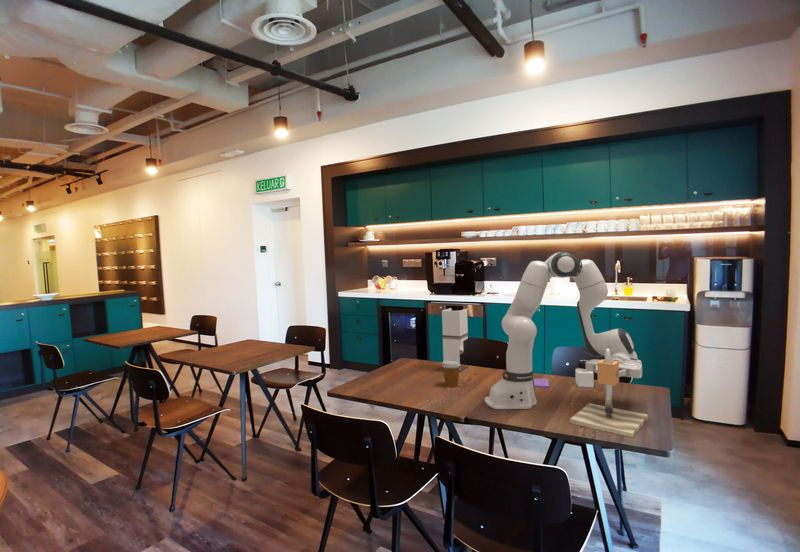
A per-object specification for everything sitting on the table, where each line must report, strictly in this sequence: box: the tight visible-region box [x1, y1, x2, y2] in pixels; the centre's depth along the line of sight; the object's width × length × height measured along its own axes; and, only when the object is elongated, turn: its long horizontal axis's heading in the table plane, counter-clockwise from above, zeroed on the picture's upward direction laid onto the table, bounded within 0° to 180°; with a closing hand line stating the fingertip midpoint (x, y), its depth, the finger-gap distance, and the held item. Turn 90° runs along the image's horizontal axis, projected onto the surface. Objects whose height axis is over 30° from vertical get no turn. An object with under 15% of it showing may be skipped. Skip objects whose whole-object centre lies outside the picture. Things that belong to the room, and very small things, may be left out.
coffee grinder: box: [441, 307, 470, 374], centre depth 244 cm, size 11×11×35 cm
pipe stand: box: [569, 403, 649, 438], centre depth 166 cm, size 22×22×2 cm
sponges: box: [533, 378, 550, 389], centre depth 214 cm, size 7×13×2 cm, turn 165°
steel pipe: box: [604, 349, 614, 418], centre depth 165 cm, size 3×3×26 cm
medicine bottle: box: [574, 359, 595, 388], centre depth 210 cm, size 7×7×12 cm
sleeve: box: [597, 359, 620, 387], centre depth 165 cm, size 6×6×8 cm
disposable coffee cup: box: [441, 360, 462, 388], centre depth 217 cm, size 10×10×12 cm
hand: (607, 372), depth 164 cm, fingers closed on sleeve, 6 cm apart
